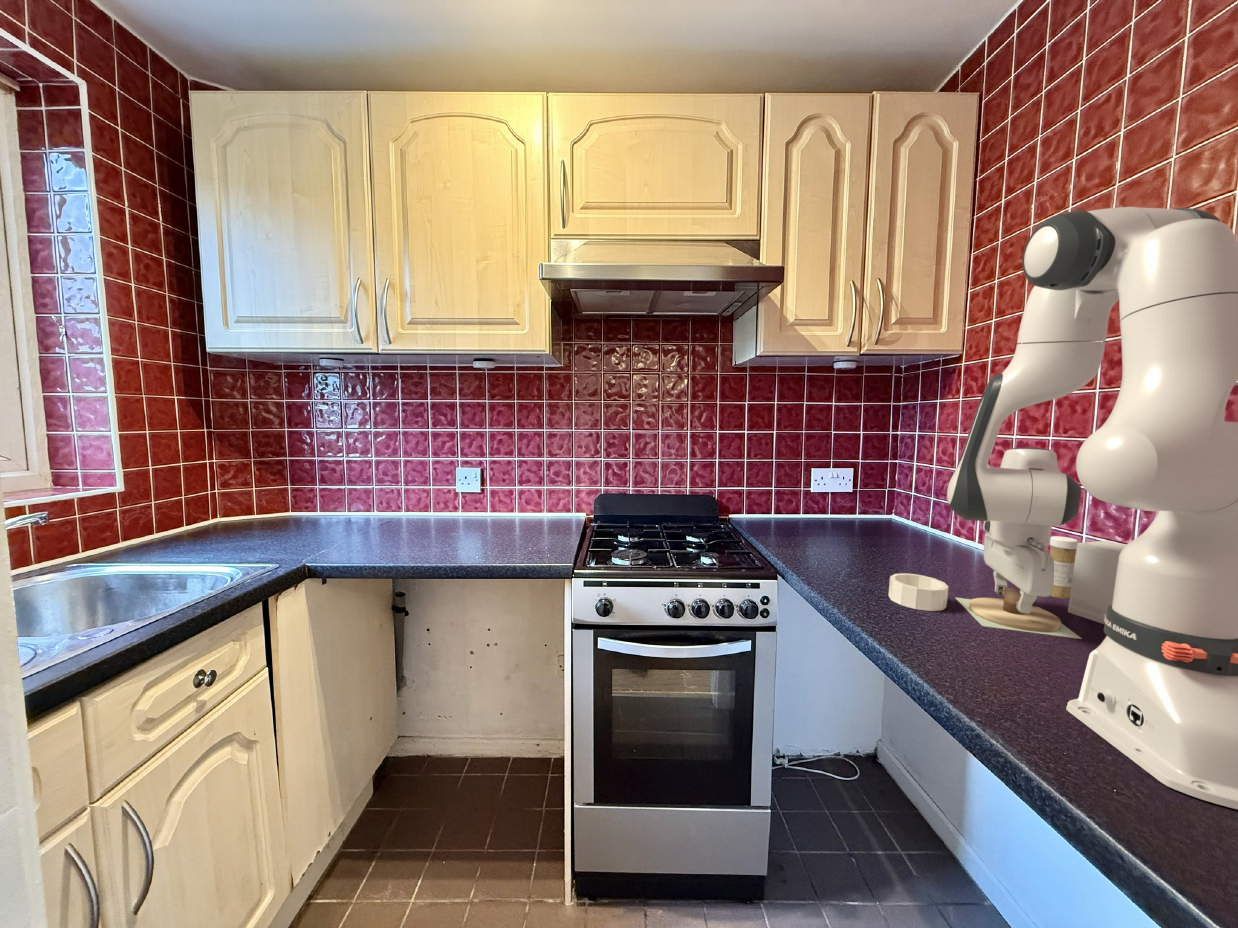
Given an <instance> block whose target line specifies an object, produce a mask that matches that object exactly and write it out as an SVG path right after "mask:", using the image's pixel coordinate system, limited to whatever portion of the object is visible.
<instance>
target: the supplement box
mask: <svg viewBox="0 0 1238 928" xmlns="http://www.w3.org/2000/svg"><path fill="white" fill-rule="evenodd" d="M1126 545H1127V544H1123V543H1118V542H1115V541H1110V540H1099V541H1098V540H1097V541H1088V542H1087V541H1085V542H1078V543H1077V550H1076V555H1075V564H1074V571H1073V578H1072V585H1071V592H1070V598H1069V600H1068V607H1067V613H1070V614H1072V615H1075V616H1077V617H1082V618H1084V619H1086V620H1087V619H1088V620H1091V621H1094V622H1095V623H1096V622H1097V623H1099V624H1102V625H1104V624H1105V622H1104V617H1105V614H1106V613H1107V608H1108V606H1110V605H1112V603H1113V595H1114V588H1115V581H1116V574H1117V567H1118V560H1119V555H1120V553H1121V551H1122V549H1123V548H1124V547H1125V546H1126Z"/></svg>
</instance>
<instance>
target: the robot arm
mask: <svg viewBox="0 0 1238 928" xmlns="http://www.w3.org/2000/svg"><path fill="white" fill-rule="evenodd" d="M1021 266H1022V267H1021V268H1022V271H1023V273H1024V276H1025V278H1026V279H1027V281H1028V282H1029V283H1030V284H1031V285H1033V287H1032V288H1031V291H1030V293H1029V295H1028V299H1027V301H1026V304H1025V307H1024V309H1023V313H1022V316H1021V317H1022V318H1021V321H1020V325H1019V328H1018V333H1017V341H1016V345H1015V346H1016V347H1015V351H1014V355H1013V357H1012V359H1011V361H1010V363H1009V364H1008V365H1007V367H1006V368H1005V369H1004V371H1002V372H1001V373H998V374H996V375H994V376H992V377H991V378H990V379H989V381H988V383H987V384H986V386H985V388H984V390H983V392H982V395H981V398H980V400H979V403H978V405H977V408H976V410H975V414H974V417H973V419H972V423H971V424H970V427H969V428H970V429H969V432H968V434H967V437H966V440H965V444H964V447H963V449H962V452H961V454H960V455H961V456H960V457H959V461H958V463H957V466H956V467H955V471H954V472H953V474H952V476H951V477H950V481H949V482H948V485H947V490H946V499H947V506H948V507H949V508H950V509H951V511H953V512H954V513H955V514H956V515H957V516H958V517H960V518H961V519H963V520H964V521H974V522H975V521H977V522H978V521H980V522H983V527H982V529H983V531H984V532H985V533H984V540H983V541H984V542H983V560H984V563H985V565H987V566H988V567H989V568H991V569H992V570H993V573H992V574H993V580H994V583H995V584H994V592H995V593H996V594H998V595H999V596H1004V595H1005V589H1006V588H1009V586H1008V581H1009V582H1010V583H1011V584H1013V585H1014V586H1016V587H1017V588H1018V589H1019V590H1020V594H1021V597H1020V600H1019V601H1017V603H1016V604H1017V606H1016V609H1017V610H1019V611H1020V612H1021V613H1030V612H1031V608H1032V606H1033V604H1034V603H1035V602H1036V600H1037V598H1038V597H1045V598H1049V597H1051V596H1050V595H1051V594H1052V592H1053V586H1054V560H1053V557H1052V556H1051V554H1050V552H1048V550H1047V548H1048V547H1050V538H1051V535H1052V527H1056V526H1059V527H1061V526H1064V525H1066V524H1067V523H1069V522H1070V521H1071V520H1074V518H1076V517H1077V516H1078V515H1079V510H1080V509H1079V508H1080V502H1081V495H1082V487H1083V489H1084V490H1085V491H1086V492H1087V493H1088V494H1090V495H1091V496H1092V497H1094V498H1095V499H1097V500H1099V501H1103V502H1105V503H1109V504H1113V505H1117V506H1120V507H1123V508H1124V507H1125V508H1128V509H1134V510H1139V511H1145V512H1147V511H1148V512H1157V515H1156V516H1155V517H1154V519H1153V521H1152V522H1151V523H1150V524H1149V526H1148V527H1147V529H1146V530H1144V531H1143V532H1142V533H1141V534H1140V535H1139V536H1138V537H1136V538H1134V539H1132V540H1131V541H1129V542H1127V544H1125V545H1126V546H1125V547H1124V548H1123V549H1122V551H1121V553H1120V555H1119V560H1118V567H1117V574H1116V581H1115V588H1114V595H1113V603H1112V605H1110V606H1108V608H1107V613H1106V614H1105V617H1104V622H1105V624H1103V625H1104V626H1103V632H1104V634H1105V635H1106V636H1105V638H1104V639H1103V640H1102V642H1101V643H1100V644H1099V645H1098V646H1097V647H1096V648H1095V649H1094V650H1092V651H1091V652H1090V653H1089V655H1088V659H1087V663H1086V666H1085V667H1086V668H1085V670H1084V674H1083V679H1082V683H1081V686H1080V691H1079V694H1078V697H1077V698H1074V699H1071V700H1069V701H1068V702H1067V705H1066V708H1065V709H1066V711H1068V712H1069V714H1071V715H1072V716H1074V717H1075V718H1076V719H1078V720H1079V721H1080V722H1082V723H1083V724H1084V725H1085V726H1086V727H1088V728H1089V729H1091V730H1092V731H1093V732H1094V733H1096V734H1097V735H1098V736H1100V737H1101V738H1102V739H1104V740H1105V741H1106V742H1108V743H1109V744H1110V745H1111V746H1113V747H1114V748H1115V749H1117V750H1118V751H1119V752H1121V753H1122V754H1123V755H1124V756H1126V757H1128V758H1129V759H1130V760H1131V761H1132V762H1134V763H1135V764H1136V765H1137V766H1139V767H1140V768H1141V769H1143V770H1144V771H1145V772H1146V773H1148V774H1150V775H1151V776H1152V777H1154V778H1155V779H1156V780H1157V781H1158V782H1160V783H1161V784H1163V785H1165V786H1166V787H1168V788H1171V789H1173V790H1175V791H1178V792H1181V793H1183V794H1186V795H1188V796H1191V797H1194V798H1197V799H1199V800H1202V801H1206V802H1209V803H1213V804H1216V805H1219V806H1224V807H1226V808H1231V809H1235V810H1238V421H1225V414H1226V409H1227V403H1228V400H1229V397H1230V395H1231V393H1232V390H1233V388H1234V387H1235V385H1236V383H1237V382H1238V240H1237V238H1236V236H1235V233H1234V232H1233V230H1232V228H1231V227H1230V226H1229V225H1228V224H1226V223H1224V222H1223V221H1221V220H1220V219H1219V217H1217V216H1216V215H1215V214H1212V213H1211V212H1208V211H1205V210H1201V209H1196V208H1191V207H1176V208H1163V207H1161V208H1160V207H1137V206H1123V207H1120V206H1119V207H1110V208H1109V207H1107V208H1101V209H1099V208H1098V209H1093V210H1083V209H1081V210H1080V209H1079V210H1073V211H1069V212H1064V213H1060V214H1057V215H1056V214H1055V215H1054V216H1051V217H1049V218H1047V219H1045V220H1044V221H1043V222H1041V223H1040V224H1039V225H1038V226H1037V227H1036V229H1035V230H1034V231H1033V232H1032V233H1031V235H1030V237H1029V238H1028V240H1027V242H1026V244H1025V246H1024V249H1023V253H1022V258H1021ZM1117 302H1119V305H1118V306H1119V309H1118V310H1119V327H1120V339H1121V342H1120V344H1121V363H1122V364H1121V365H1122V366H1121V367H1122V375H1121V384H1120V388H1119V393H1118V395H1117V399H1116V401H1115V403H1114V407H1113V408H1112V411H1111V413H1110V414H1109V416H1108V417H1107V419H1106V421H1105V422H1104V423H1103V424H1102V425H1101V427H1099V428H1098V429H1097V430H1096V431H1094V432H1093V433H1092V434H1090V435H1089V436H1088V437H1087V438H1086V439H1085V440H1084V441H1083V443H1082V444H1081V445H1080V448H1079V450H1078V453H1077V456H1076V460H1075V461H1076V462H1075V470H1076V474H1077V478H1078V480H1079V482H1080V484H1081V485H1080V484H1079V483H1078V482H1077V481H1076V480H1075V479H1074V478H1073V477H1072V476H1070V475H1069V474H1067V473H1063V472H1062V471H1060V468H1058V455H1057V452H1055V451H1054V450H1051V449H1047V448H1041V447H1032V446H1030V447H1028V446H1027V447H1024V446H1023V447H1013V448H1010V449H1007V450H1006V451H1004V454H1003V456H1002V461H1001V462H1000V467H998V466H993V465H990V464H989V461H990V458H991V456H992V453H993V449H994V447H995V444H996V440H997V438H998V435H999V432H1000V430H1001V426H1002V425H1003V423H1004V422H1005V420H1006V419H1007V418H1008V417H1009V416H1011V415H1012V414H1014V413H1015V412H1017V411H1020V410H1022V409H1024V408H1027V407H1030V406H1034V405H1038V404H1042V403H1045V402H1048V401H1053V400H1056V399H1059V398H1063V397H1065V396H1068V395H1070V394H1072V393H1074V392H1076V391H1078V390H1080V389H1082V388H1083V387H1084V386H1086V385H1087V384H1089V383H1090V382H1091V381H1092V380H1093V379H1094V378H1095V376H1097V374H1098V372H1099V369H1100V367H1101V363H1102V360H1103V358H1104V353H1105V347H1106V341H1107V334H1108V325H1109V319H1110V314H1111V311H1112V308H1113V307H1114V306H1115V304H1117Z"/></svg>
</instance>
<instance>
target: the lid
mask: <svg viewBox="0 0 1238 928" xmlns="http://www.w3.org/2000/svg"><path fill="white" fill-rule="evenodd" d="M1003 596H1004V597H1003V598H996V597H976V598H972V600H970V602H969V609H970V611H971V612H972V613H974V614H975V615H977V616H979V617H981V618H983V619H985V620H988V621H991V622H993V623H996V624H1000V625H1003V626H1007V627H1011V628H1016V629H1021V630H1027V631H1035V632H1053V631H1057V630H1059V629H1060V626H1061V623H1062V620H1061V618H1060V617H1058V616H1057V615H1055V614H1054V613H1052V612H1050V611H1048V610H1045V609H1043V608H1041V607H1040V608H1041V609H1040V608H1038V606H1034V605H1032V608H1031V612H1030V613H1021V612H1020V611H1019V610H1017V609H1016V606H1017V604H1016V603H1017V601H1019V600H1020V597H1021V594H1020V589H1019V588H1018V589H1017V588H1011V587H1010V588H1006V589H1005V595H1003Z"/></svg>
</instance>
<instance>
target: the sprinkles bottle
mask: <svg viewBox="0 0 1238 928" xmlns="http://www.w3.org/2000/svg"><path fill="white" fill-rule="evenodd" d="M1077 543H1079V540H1078V539H1076V538H1073V537H1068V536H1061V535H1053V536H1050V544H1049V547H1050V549H1049V554H1051V556H1052V557H1053V560H1054V586H1053V592H1052V594H1051V595H1050V596H1049V597H1053V598H1058V599H1067V600H1068V599H1070V592H1071V585H1072V578H1073V571H1074V564H1075V557H1076V550H1077Z"/></svg>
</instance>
